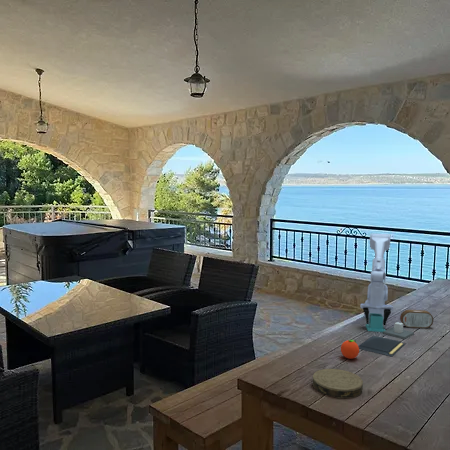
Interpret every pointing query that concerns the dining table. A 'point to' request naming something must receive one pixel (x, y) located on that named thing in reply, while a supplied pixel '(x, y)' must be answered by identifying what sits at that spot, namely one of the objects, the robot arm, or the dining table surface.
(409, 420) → the dining table surface
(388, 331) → the post block
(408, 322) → the tin
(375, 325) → the flange
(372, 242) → the robot arm
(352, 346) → the clementine
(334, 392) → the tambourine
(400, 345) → the wallet
